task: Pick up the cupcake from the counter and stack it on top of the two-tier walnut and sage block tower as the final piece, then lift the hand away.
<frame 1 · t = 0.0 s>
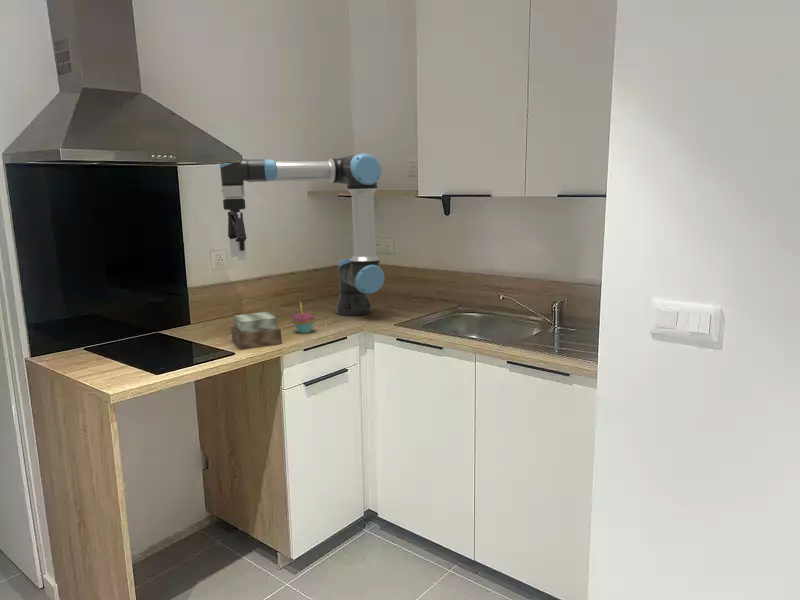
hand: (238, 258, 207), 28 cm above the worktop, tool pointing down, fingers open, 13 cm apart
block tower: (256, 341, 200), on the worktop
cupcake: (304, 332, 214), on the worktop
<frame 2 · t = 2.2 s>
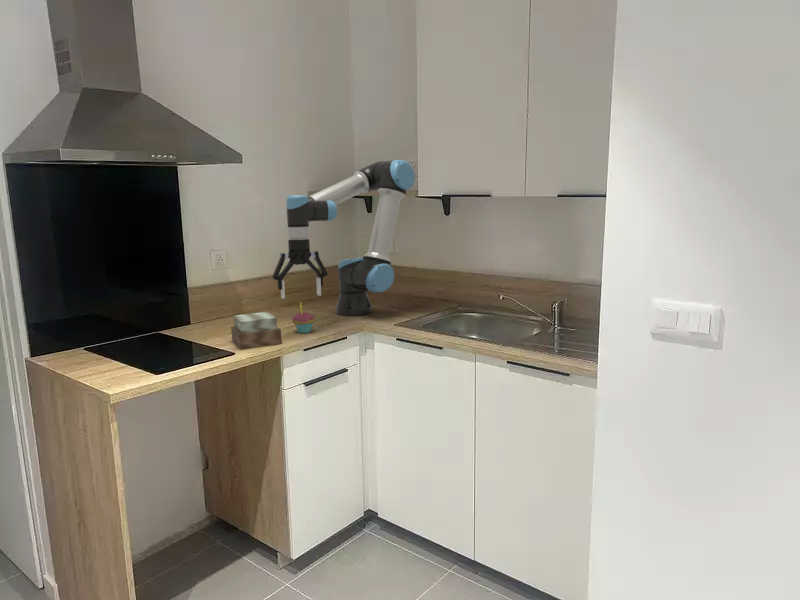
hand: (301, 296, 211), 13 cm above the worktop, tool pointing down, fingers open, 13 cm apart
nothing on the worktop moved.
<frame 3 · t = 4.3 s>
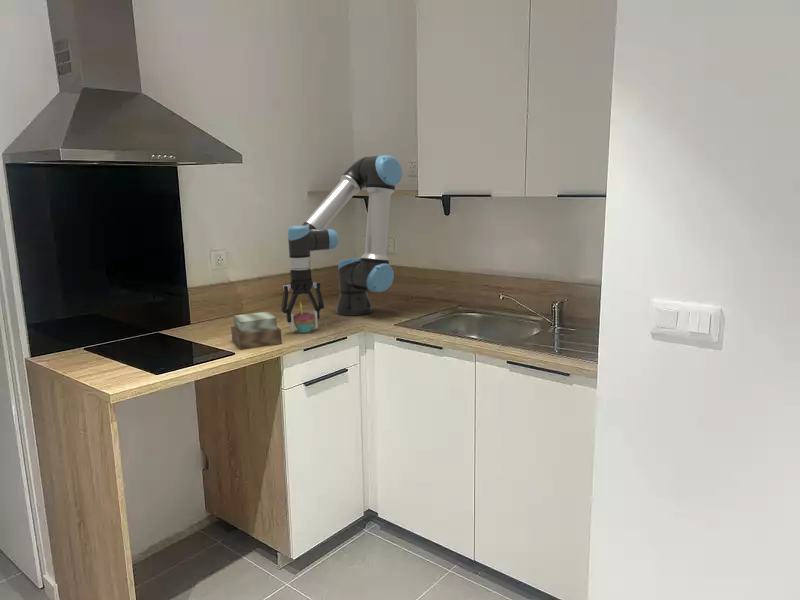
hand: (304, 329, 214), 1 cm above the worktop, tool pointing down, fingers closed on cupcake, 8 cm apart
cupcake: (304, 331, 214), on the worktop, touching gripper
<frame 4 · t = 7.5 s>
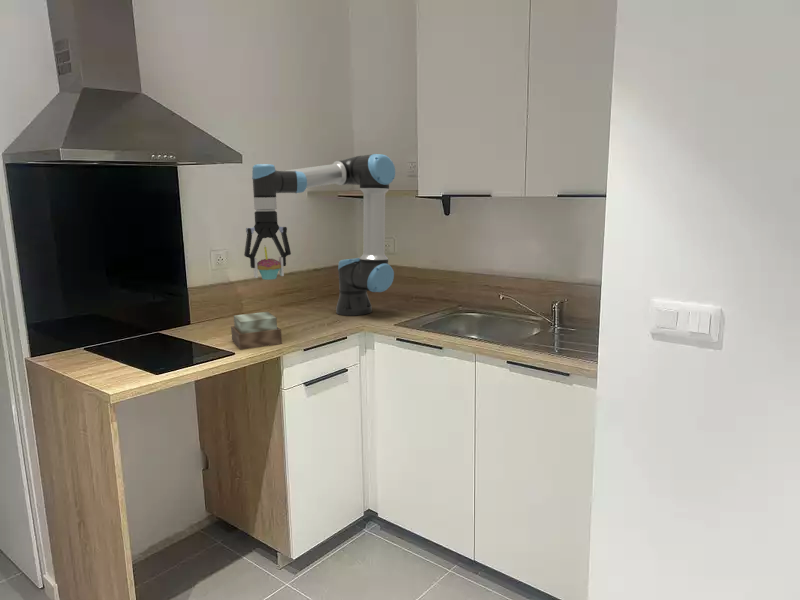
hand: (269, 276, 201), 22 cm above the worktop, tool pointing down, fingers closed on cupcake, 8 cm apart
cupcake: (269, 279, 201), point 21 cm above the worktop, touching gripper
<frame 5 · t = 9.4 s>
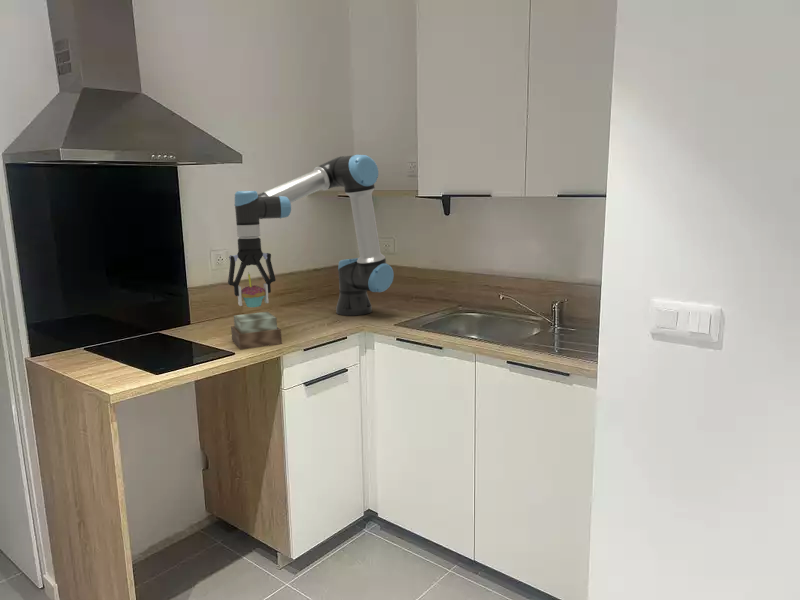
hand: (253, 303, 198), 14 cm above the worktop, tool pointing down, fingers closed on cupcake, 8 cm apart
cupcake: (253, 306, 198), point 13 cm above the worktop, touching gripper
when the fingers open (11 cm above the worktop, at t = 10.7 s): cupcake drops 1 cm, resting on block tower.
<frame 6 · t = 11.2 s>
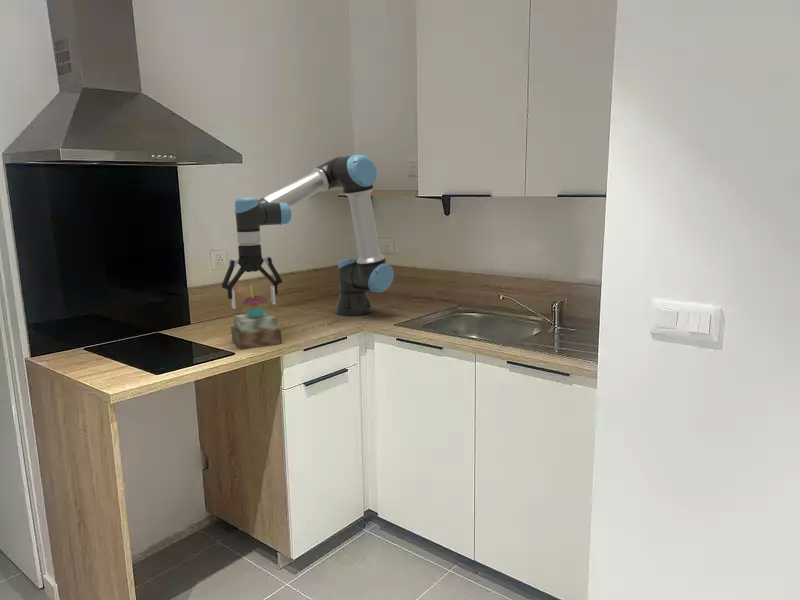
hand: (254, 306, 198), 13 cm above the worktop, tool pointing down, fingers open, 13 cm apart
cupcake: (255, 316, 199), point 9 cm above the worktop, touching block tower
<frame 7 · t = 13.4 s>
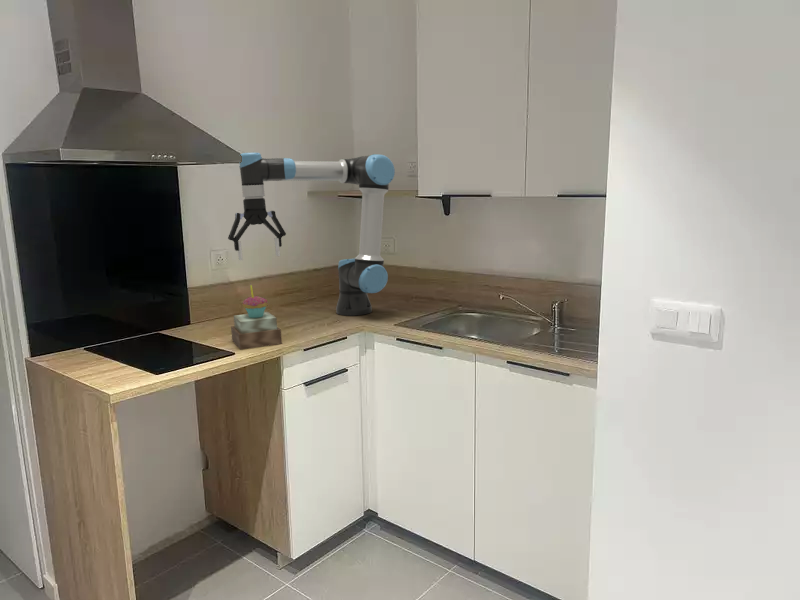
hand: (259, 257, 207), 28 cm above the worktop, tool pointing down, fingers open, 13 cm apart
nothing on the worktop moved.
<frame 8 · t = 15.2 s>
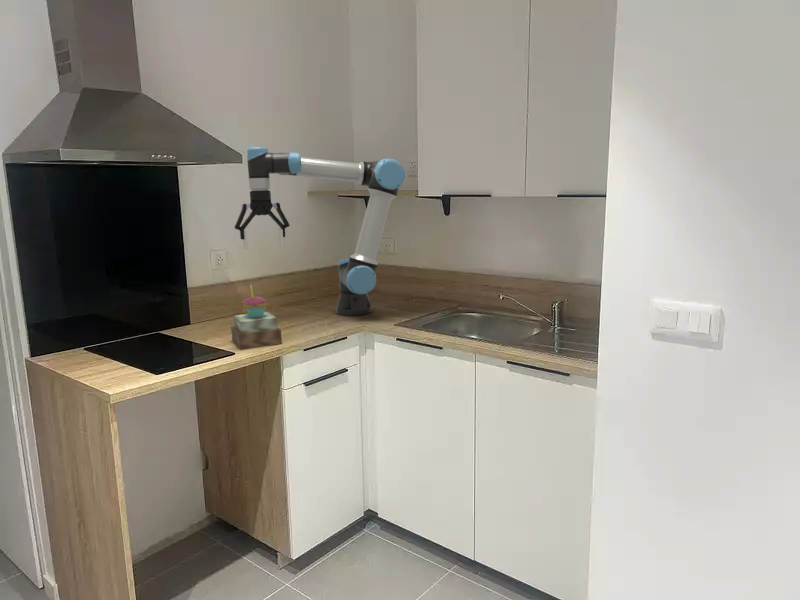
hand: (263, 247, 218), 31 cm above the worktop, tool pointing down, fingers open, 13 cm apart
nothing on the worktop moved.
at the end: cupcake inside the target area on the block tower (0.4 cm from its centre), point 8.8 cm above the block tower's base; cupcake tilted 0°; the gripper is holding nothing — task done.
